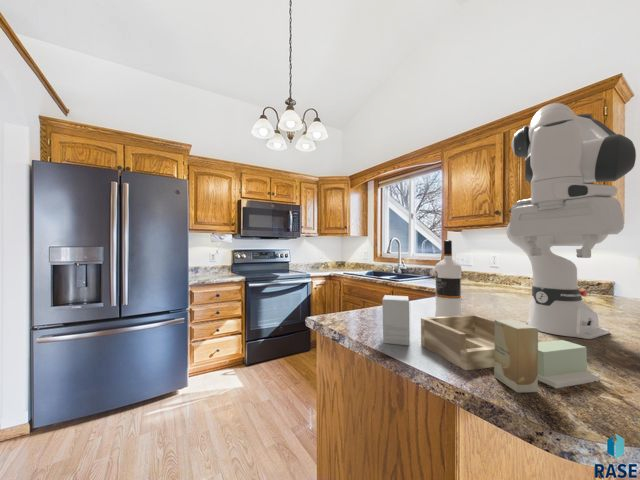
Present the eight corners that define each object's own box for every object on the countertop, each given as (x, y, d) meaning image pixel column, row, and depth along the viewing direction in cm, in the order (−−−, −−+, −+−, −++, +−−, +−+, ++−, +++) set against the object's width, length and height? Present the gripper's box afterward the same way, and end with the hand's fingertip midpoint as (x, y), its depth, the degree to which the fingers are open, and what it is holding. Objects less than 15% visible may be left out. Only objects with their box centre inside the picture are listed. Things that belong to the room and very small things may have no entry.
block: (563, 361, 61) (562, 339, 61) (587, 370, 57) (586, 347, 57) (522, 367, 58) (522, 344, 58) (544, 376, 54) (543, 352, 54)
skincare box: (493, 377, 56) (492, 318, 56) (512, 376, 56) (511, 318, 56) (518, 394, 49) (517, 327, 50) (540, 393, 50) (539, 327, 50)
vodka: (465, 332, 86) (464, 239, 87) (434, 328, 89) (433, 239, 90) (461, 324, 94) (460, 240, 95) (433, 321, 98) (432, 240, 99)
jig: (474, 339, 79) (474, 314, 79) (529, 361, 63) (529, 330, 64) (421, 344, 74) (420, 317, 74) (465, 370, 59) (465, 336, 59)
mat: (551, 362, 63) (551, 358, 63) (599, 380, 54) (599, 375, 54) (512, 368, 60) (511, 363, 60) (556, 388, 51) (556, 383, 51)
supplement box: (409, 337, 80) (409, 295, 80) (409, 346, 73) (409, 300, 73) (384, 335, 82) (384, 294, 83) (382, 343, 75) (382, 298, 76)
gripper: (502, 201, 68) (503, 255, 68) (605, 183, 48) (607, 259, 48) (521, 202, 70) (522, 254, 69) (628, 185, 50) (630, 258, 50)
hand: (557, 256), depth 59 cm, fingers open, 8 cm apart
